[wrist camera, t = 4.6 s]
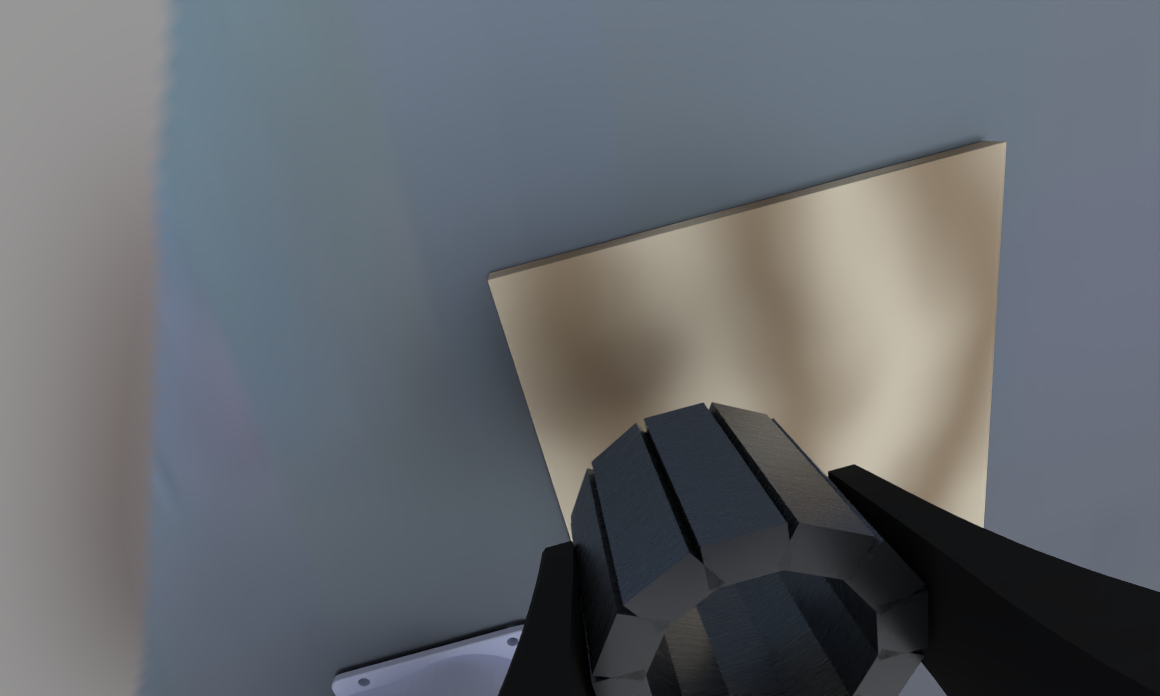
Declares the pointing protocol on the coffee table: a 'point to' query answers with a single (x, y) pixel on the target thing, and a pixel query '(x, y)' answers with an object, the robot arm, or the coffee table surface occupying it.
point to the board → (784, 326)
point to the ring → (736, 568)
